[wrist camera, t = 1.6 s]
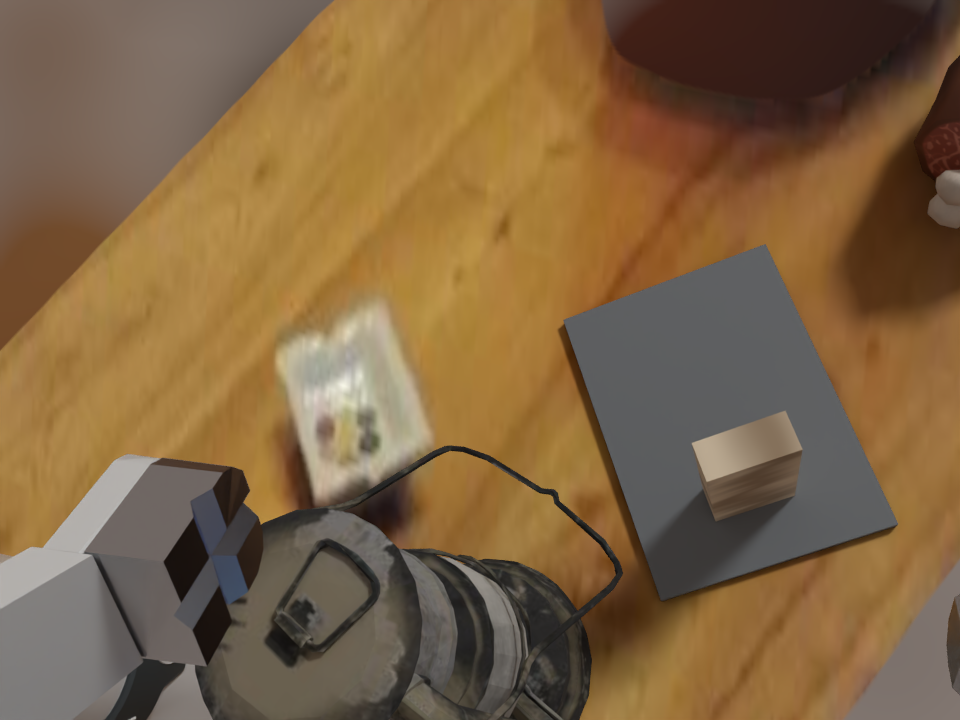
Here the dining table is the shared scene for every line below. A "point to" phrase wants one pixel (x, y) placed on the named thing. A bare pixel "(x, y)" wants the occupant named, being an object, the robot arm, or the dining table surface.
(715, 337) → the mat
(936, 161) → the meat
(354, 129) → the dining table surface
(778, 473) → the wooden block
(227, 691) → the lantern
